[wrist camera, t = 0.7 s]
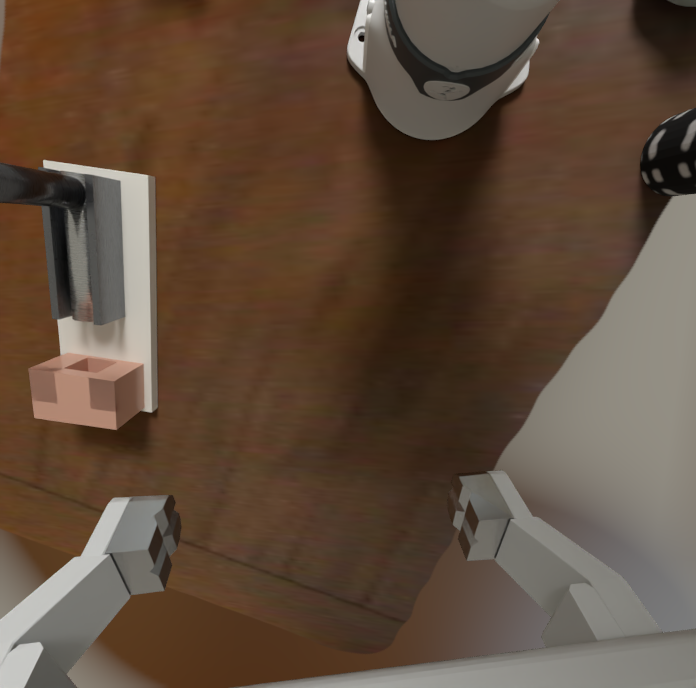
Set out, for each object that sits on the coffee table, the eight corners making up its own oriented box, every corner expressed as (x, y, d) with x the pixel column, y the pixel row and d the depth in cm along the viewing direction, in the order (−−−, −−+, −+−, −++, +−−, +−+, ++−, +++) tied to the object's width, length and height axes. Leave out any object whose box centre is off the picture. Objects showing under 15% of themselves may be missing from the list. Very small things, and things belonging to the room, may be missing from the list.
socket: (68, 352, 49) (28, 368, 43) (143, 363, 49) (114, 381, 43) (71, 396, 51) (34, 417, 45) (144, 407, 51) (116, 429, 45)
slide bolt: (75, 173, 42) (-62, 146, 28) (104, 178, 42) (-20, 152, 28) (85, 313, 46) (-30, 346, 33) (110, 317, 46) (7, 352, 33)
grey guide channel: (71, 173, 42) (37, 166, 38) (120, 180, 42) (92, 174, 38) (81, 310, 47) (52, 318, 43) (125, 316, 47) (100, 325, 43)
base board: (53, 162, 44) (43, 159, 42) (155, 177, 44) (148, 175, 42) (73, 395, 52) (64, 399, 51) (157, 407, 52) (151, 412, 51)
